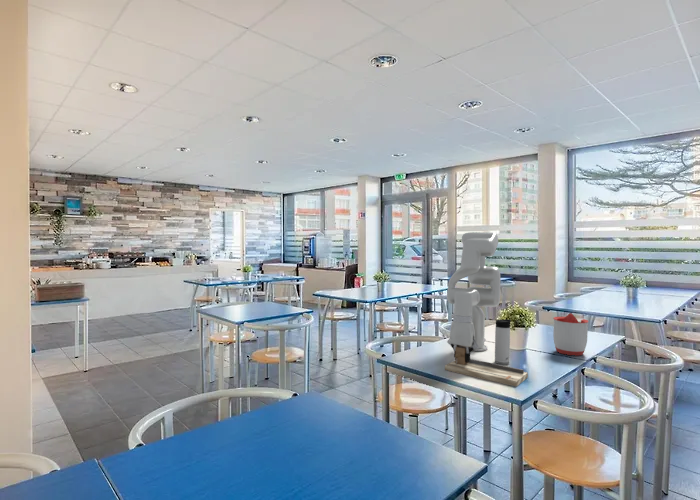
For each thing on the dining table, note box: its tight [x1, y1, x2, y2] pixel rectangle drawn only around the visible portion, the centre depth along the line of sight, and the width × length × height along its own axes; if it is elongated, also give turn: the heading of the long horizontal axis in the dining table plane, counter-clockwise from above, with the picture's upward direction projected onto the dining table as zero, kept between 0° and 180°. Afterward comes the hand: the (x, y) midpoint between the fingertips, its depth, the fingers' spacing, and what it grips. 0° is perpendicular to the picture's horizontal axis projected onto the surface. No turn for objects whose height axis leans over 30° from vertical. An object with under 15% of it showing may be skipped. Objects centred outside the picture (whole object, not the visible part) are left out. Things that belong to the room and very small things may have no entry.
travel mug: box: [494, 318, 512, 366], centre depth 190 cm, size 6×7×20 cm
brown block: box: [454, 346, 469, 365], centre depth 181 cm, size 8×4×7 cm, turn 140°
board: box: [444, 358, 529, 388], centre depth 175 cm, size 14×30×4 cm, turn 50°
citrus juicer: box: [552, 313, 589, 356], centre depth 209 cm, size 16×17×20 cm
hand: (462, 360), depth 182 cm, fingers closed on brown block, 4 cm apart
